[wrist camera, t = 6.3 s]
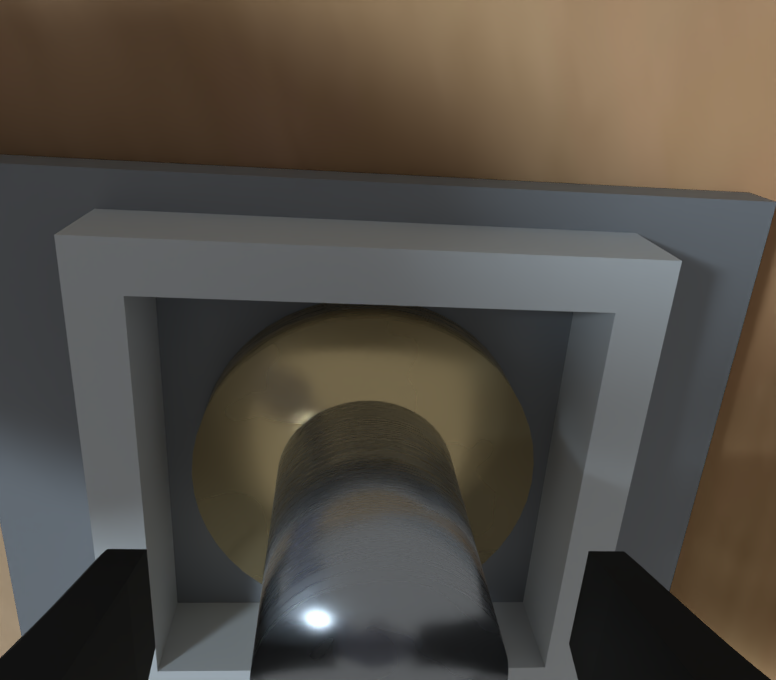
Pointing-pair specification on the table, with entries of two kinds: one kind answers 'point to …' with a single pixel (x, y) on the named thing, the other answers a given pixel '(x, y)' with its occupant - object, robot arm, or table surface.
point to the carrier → (353, 286)
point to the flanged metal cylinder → (366, 492)
